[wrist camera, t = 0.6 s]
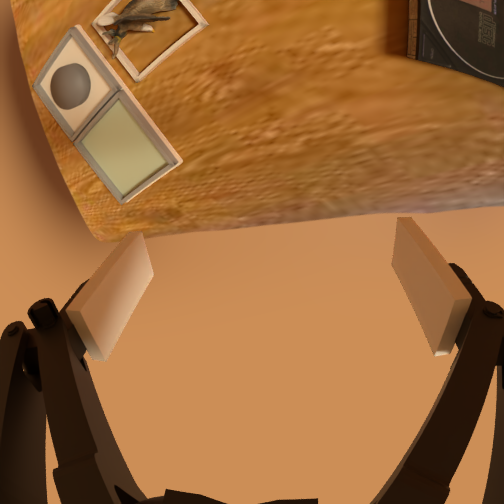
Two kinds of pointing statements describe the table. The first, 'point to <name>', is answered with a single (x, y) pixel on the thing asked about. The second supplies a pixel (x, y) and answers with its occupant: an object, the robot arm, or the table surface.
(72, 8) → the table surface
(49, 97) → the tray
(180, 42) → the white square frame
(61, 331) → the robot arm
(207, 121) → the table surface
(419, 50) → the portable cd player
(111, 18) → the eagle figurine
